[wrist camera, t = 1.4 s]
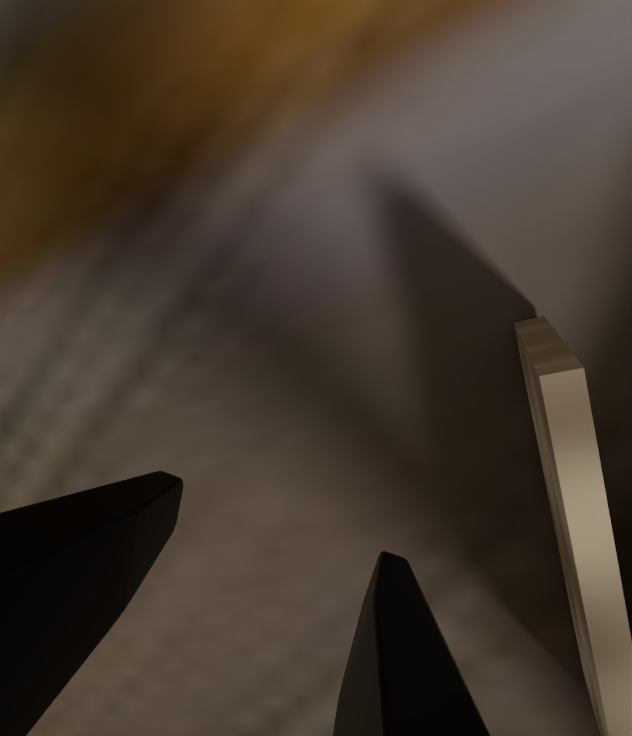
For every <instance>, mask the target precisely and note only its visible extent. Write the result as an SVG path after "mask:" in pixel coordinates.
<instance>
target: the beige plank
mask: <svg viewBox="0 0 632 736" xmlns="http://www.w3.org/2000/svg"><path fill="white" fill-rule="evenodd" d="M514 328H515V333H516V338H517V343H518V348H519V353H520V358H521V363H522V368H523V373H524V378H525V383H526V388H527V393H528V398H529V403H530V408H531V413H532V418H533V423H534V428H535V433H536V438H537V443H538V448H539V453H540V458H541V463H542V468H543V473H544V478H545V483H546V488H547V493H548V498H549V503H550V508H551V513H552V518H553V523H554V528H555V533H556V538H557V543H558V548H559V553H560V558H561V563H562V568H563V573H564V578H565V583H566V588H567V593H568V598H569V603H570V608H571V613H572V618H573V623H574V628H575V633H576V638H577V643H578V648H579V653H580V658H581V663H582V668H583V673H584V676H585V682H586V686H587V690H588V693H589V697H590V701H591V704H592V708H593V712H594V715H595V719H596V723H597V726H598V730H599V734H600V736H632V640H631V634H630V629H629V623H628V617H627V611H626V606H625V600H624V594H623V589H622V583H621V577H620V571H619V566H618V560H617V554H616V548H615V543H614V537H613V531H612V526H611V520H610V514H609V508H608V503H607V497H606V491H605V486H604V480H603V474H602V468H601V463H600V457H599V451H598V446H597V440H596V434H595V428H594V423H593V417H592V411H591V406H590V400H589V394H588V388H587V383H586V377H585V371H584V367H583V366H582V365H581V363H580V362H579V361H578V360H577V358H576V357H575V356H574V354H573V353H572V352H571V350H570V349H569V348H568V347H567V345H566V344H565V343H564V341H563V340H562V339H561V338H560V336H559V335H558V334H557V332H556V331H555V330H554V328H553V327H552V326H551V325H550V323H549V322H548V321H547V319H546V318H545V317H544V316H542V317H537V318H533V319H528V320H523V321H519V322H514Z"/></svg>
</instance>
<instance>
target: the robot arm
mask: <svg viewBox="0 0 632 736" xmlns="http://www.w3.org/2000/svg"><path fill="white" fill-rule="evenodd" d="M182 491H183V481H182V479H181V478H180V477H177V476H174V475H171V474H169V473H166V472H163V471H157V472H153V473H149V474H145V475H142V476H138V477H134V478H130V479H127V480H123V481H119V482H115V483H111V484H108V485H104V486H100V487H96V488H93V489H89V490H85V491H81V492H77V493H74V494H70V495H66V496H62V497H59V498H55V499H51V500H47V501H43V502H40V503H36V504H32V505H28V506H24V507H21V508H17V509H13V510H9V511H6V512H2V513H0V736H26V735H27V734H28V733H29V731H30V730H31V729H32V728H33V726H34V725H35V724H36V722H37V721H38V720H39V719H40V717H41V716H42V715H43V714H44V712H45V711H46V710H47V708H48V707H49V706H50V705H51V703H52V702H53V701H54V700H55V698H56V697H57V696H58V695H59V693H60V692H61V691H62V689H63V688H64V687H65V686H66V684H67V683H68V682H69V681H70V679H71V678H72V677H73V675H74V674H75V673H76V672H77V670H78V669H79V668H80V667H81V665H82V664H83V663H84V661H85V660H86V659H87V658H88V656H89V655H90V654H91V653H92V651H93V650H94V649H95V648H96V646H97V645H98V644H99V642H100V641H101V640H102V639H103V637H104V636H105V635H106V634H107V632H108V631H109V630H110V628H111V627H112V626H113V625H114V623H115V622H116V621H117V619H118V618H119V617H120V615H121V614H122V613H123V611H124V610H125V608H126V607H127V605H128V604H129V602H130V600H131V599H132V597H133V596H134V594H135V593H136V591H137V589H138V588H139V586H140V584H141V583H142V581H143V580H144V578H145V576H146V575H147V573H148V572H149V570H150V568H151V567H152V565H153V564H154V562H155V560H156V559H157V557H158V556H159V554H160V552H161V551H162V549H163V547H164V546H165V544H166V543H167V541H168V539H169V538H170V536H171V534H172V533H173V530H174V528H175V525H176V522H177V518H178V512H179V507H180V502H181V496H182ZM333 736H490V734H489V732H488V730H487V728H486V725H485V723H484V721H483V719H482V717H481V715H480V713H479V711H478V709H477V706H476V704H475V702H474V700H473V698H472V696H471V694H470V692H469V690H468V687H467V685H466V683H465V681H464V679H463V677H462V675H461V673H460V670H459V668H458V666H457V664H456V662H455V660H454V658H453V656H452V654H451V651H450V649H449V647H448V645H447V643H446V641H445V639H444V637H443V635H442V632H441V630H440V628H439V626H438V624H437V622H436V620H435V618H434V615H433V613H432V611H431V609H430V607H429V605H428V603H427V601H426V599H425V596H424V594H423V592H422V590H421V588H420V586H419V584H418V582H417V580H416V577H415V575H414V573H413V571H412V569H411V567H410V565H409V563H408V561H407V560H406V559H405V558H403V557H400V556H397V555H394V554H392V553H389V552H386V551H383V552H381V553H380V555H379V557H378V560H377V563H376V566H375V568H374V571H373V574H372V577H371V580H370V583H369V586H368V589H367V592H366V595H365V598H364V602H363V605H362V609H361V613H360V616H359V620H358V624H357V628H356V632H355V636H354V639H353V643H352V647H351V651H350V655H349V658H348V662H347V666H346V670H345V674H344V677H343V681H342V686H341V690H340V694H339V699H338V705H337V711H336V718H335V725H334V732H333Z"/></svg>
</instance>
